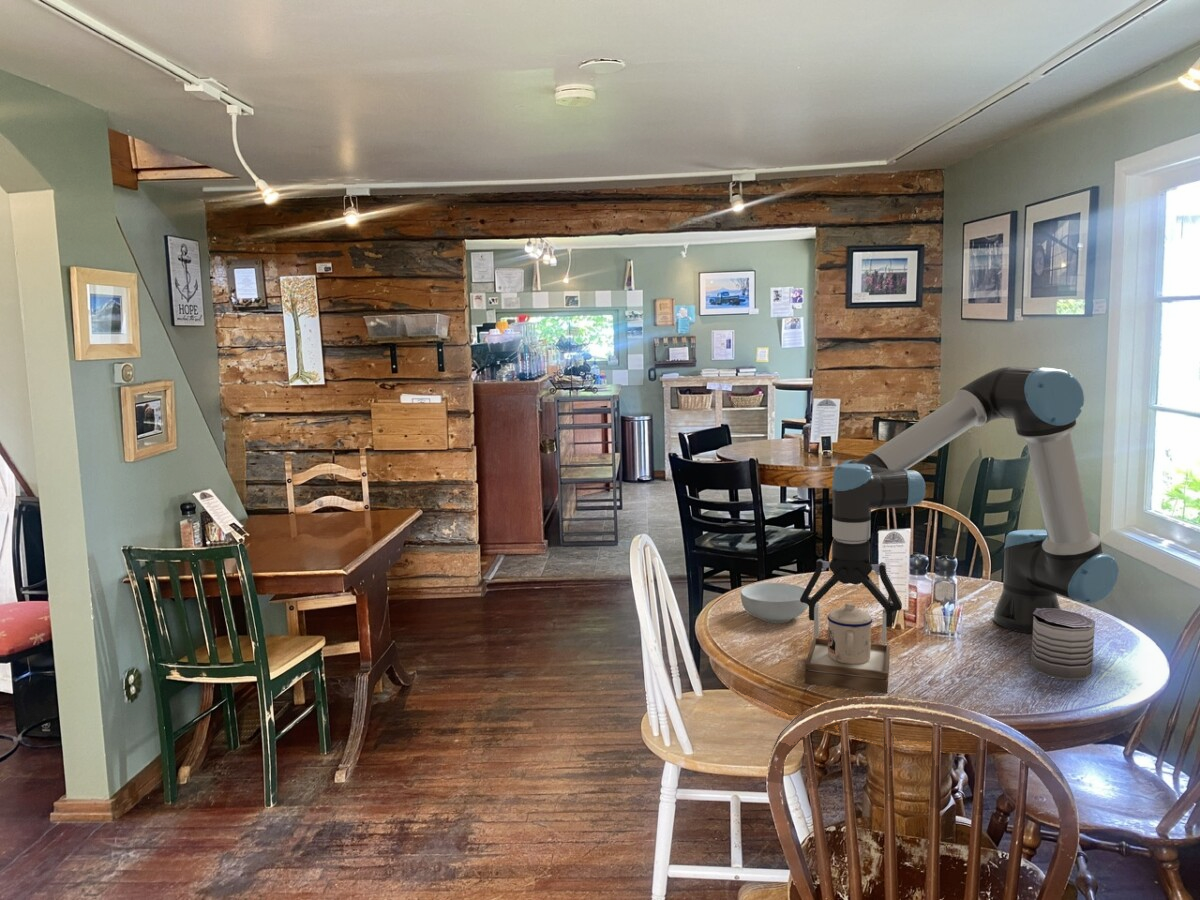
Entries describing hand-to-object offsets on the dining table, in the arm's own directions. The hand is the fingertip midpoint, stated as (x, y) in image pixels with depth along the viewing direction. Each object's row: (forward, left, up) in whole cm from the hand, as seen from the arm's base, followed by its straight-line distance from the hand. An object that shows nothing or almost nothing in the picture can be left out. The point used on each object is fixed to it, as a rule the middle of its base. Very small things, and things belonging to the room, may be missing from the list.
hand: (849, 638), depth 179 cm
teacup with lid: (0, 0, -5) cm, 5 cm away
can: (-42, -15, -8) cm, 45 cm away
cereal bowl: (+20, -31, -8) cm, 38 cm away
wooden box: (0, 0, -8) cm, 8 cm away
